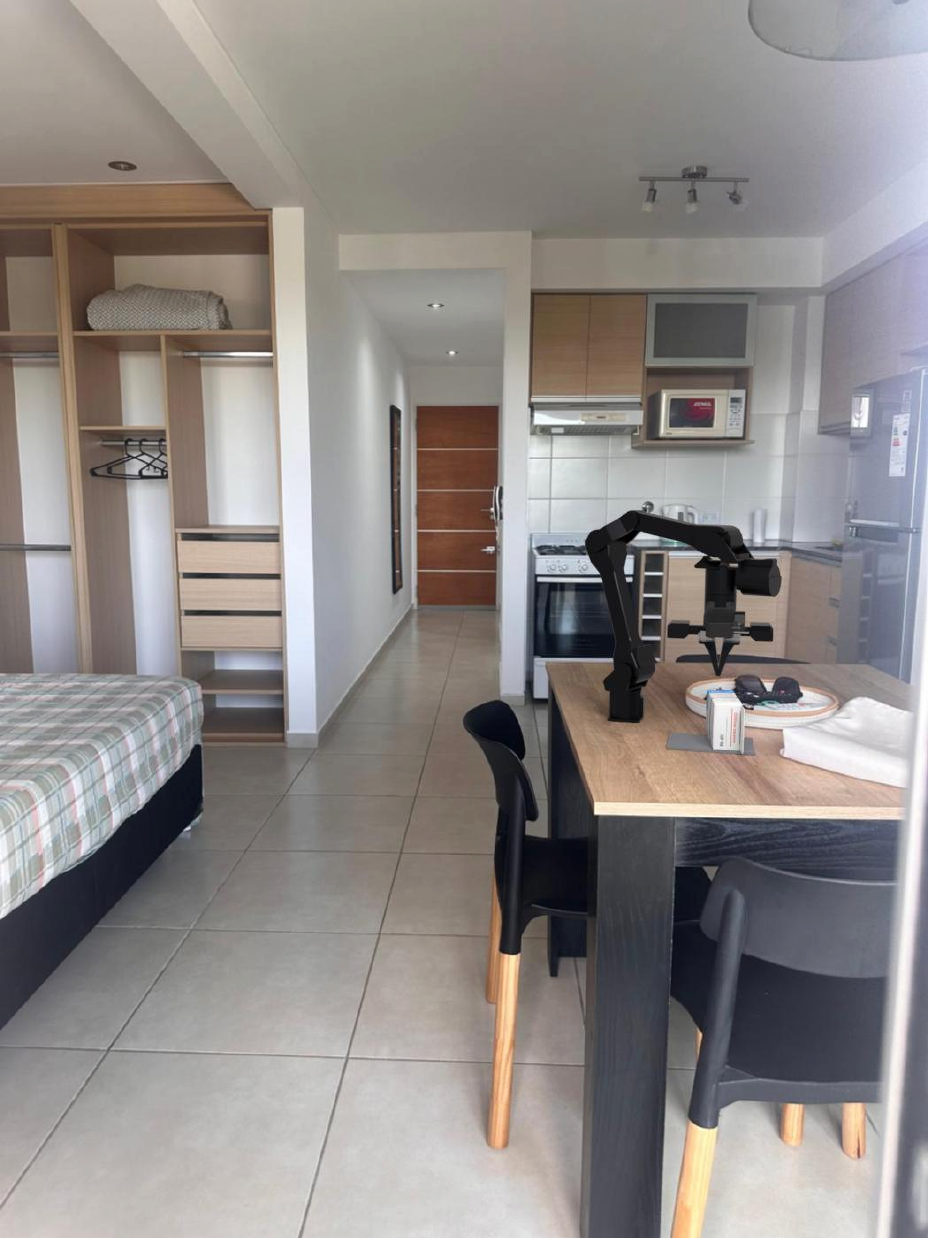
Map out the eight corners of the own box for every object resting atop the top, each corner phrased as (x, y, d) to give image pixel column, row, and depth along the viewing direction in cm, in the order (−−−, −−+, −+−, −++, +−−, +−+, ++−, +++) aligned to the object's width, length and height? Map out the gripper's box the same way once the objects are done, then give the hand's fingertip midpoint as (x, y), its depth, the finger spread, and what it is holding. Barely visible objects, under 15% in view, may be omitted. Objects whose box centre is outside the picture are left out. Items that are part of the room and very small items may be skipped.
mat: (666, 749, 149) (666, 746, 149) (669, 734, 159) (669, 732, 159) (754, 755, 145) (754, 753, 145) (752, 740, 155) (752, 737, 154)
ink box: (706, 688, 157) (716, 706, 143) (733, 689, 157) (745, 707, 142) (705, 732, 159) (714, 755, 144) (731, 733, 158) (744, 756, 143)
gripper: (666, 597, 149) (664, 682, 151) (776, 599, 144) (773, 687, 146) (669, 590, 160) (668, 670, 162) (773, 592, 154) (769, 675, 157)
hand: (718, 675), depth 156 cm, fingers closed
